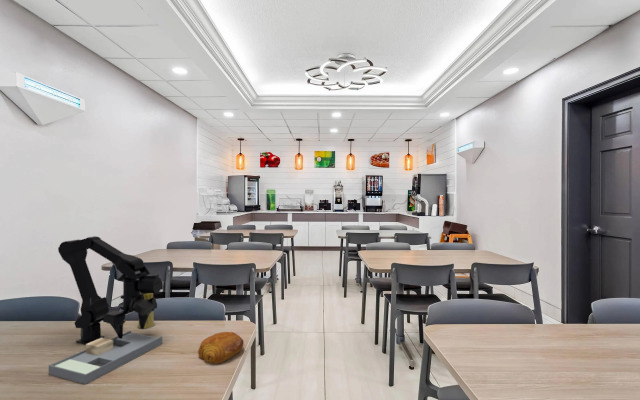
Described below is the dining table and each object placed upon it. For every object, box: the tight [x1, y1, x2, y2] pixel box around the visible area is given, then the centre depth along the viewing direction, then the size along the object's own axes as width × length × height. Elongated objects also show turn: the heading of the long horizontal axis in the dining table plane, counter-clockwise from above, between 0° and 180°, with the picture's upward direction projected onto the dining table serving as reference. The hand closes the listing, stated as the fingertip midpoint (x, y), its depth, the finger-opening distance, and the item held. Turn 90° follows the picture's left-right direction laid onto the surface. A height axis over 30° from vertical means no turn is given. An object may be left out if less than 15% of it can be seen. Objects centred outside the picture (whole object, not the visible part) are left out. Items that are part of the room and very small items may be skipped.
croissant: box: [197, 331, 245, 365], centre depth 114 cm, size 14×16×8 cm
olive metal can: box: [137, 293, 155, 329], centre depth 138 cm, size 6×6×14 cm
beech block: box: [85, 337, 113, 356], centre depth 111 cm, size 6×6×3 cm
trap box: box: [48, 330, 163, 385], centre depth 111 cm, size 16×28×3 cm, turn 161°
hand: (131, 333), depth 122 cm, fingers open, 9 cm apart
